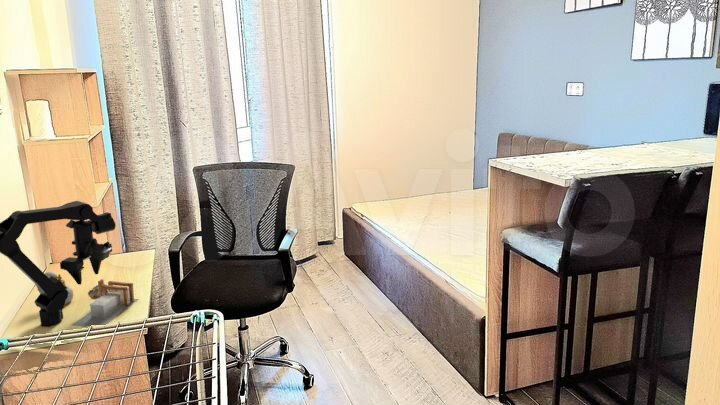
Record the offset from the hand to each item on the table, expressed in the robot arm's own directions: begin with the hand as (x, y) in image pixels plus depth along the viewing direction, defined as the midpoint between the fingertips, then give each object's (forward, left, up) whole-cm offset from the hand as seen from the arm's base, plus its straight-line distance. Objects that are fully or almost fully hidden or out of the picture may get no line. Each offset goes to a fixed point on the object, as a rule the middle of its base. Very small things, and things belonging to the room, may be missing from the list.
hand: (88, 279), depth 180 cm
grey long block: (+1, -7, -11) cm, 13 cm away
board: (-1, -7, -12) cm, 14 cm away
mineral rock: (+12, +6, -13) cm, 18 cm away
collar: (+4, -7, -12) cm, 15 cm away
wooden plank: (+6, -1, -12) cm, 13 cm away
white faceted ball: (+2, +14, -12) cm, 19 cm away
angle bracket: (+8, -7, -12) cm, 16 cm away
